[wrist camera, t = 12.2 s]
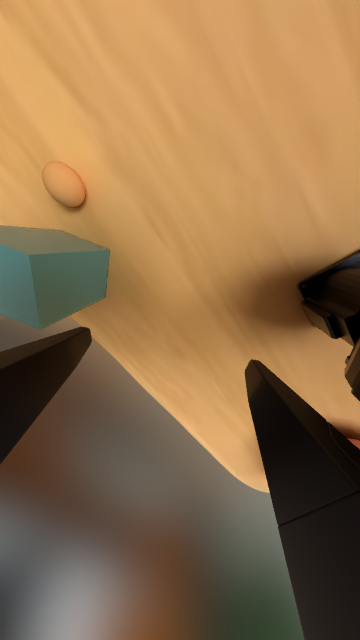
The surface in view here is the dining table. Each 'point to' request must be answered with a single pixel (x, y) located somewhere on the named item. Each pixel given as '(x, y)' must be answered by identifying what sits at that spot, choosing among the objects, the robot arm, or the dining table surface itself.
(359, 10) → the dining table surface
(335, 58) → the dining table surface
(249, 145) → the dining table surface
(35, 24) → the dining table surface
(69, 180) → the orange small ball
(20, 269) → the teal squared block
